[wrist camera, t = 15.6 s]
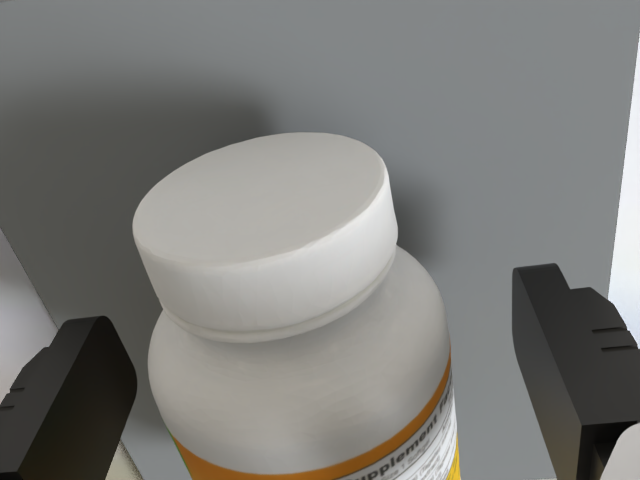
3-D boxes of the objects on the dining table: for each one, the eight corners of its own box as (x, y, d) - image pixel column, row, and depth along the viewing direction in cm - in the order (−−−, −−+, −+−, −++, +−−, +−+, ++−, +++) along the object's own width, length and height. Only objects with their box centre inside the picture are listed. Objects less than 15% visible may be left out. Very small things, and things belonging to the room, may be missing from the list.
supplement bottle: (204, 529, 15) (38, 206, 10) (363, 409, 17) (298, 94, 12) (332, 731, 11) (171, 372, 6) (515, 541, 13) (518, 160, 8)
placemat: (-94, 17, 11) (-114, 25, 10) (641, -127, 9) (657, -125, 9) (164, 490, 19) (159, 507, 19) (579, 457, 17) (586, 475, 17)
